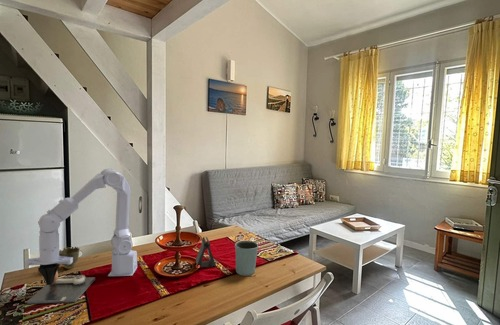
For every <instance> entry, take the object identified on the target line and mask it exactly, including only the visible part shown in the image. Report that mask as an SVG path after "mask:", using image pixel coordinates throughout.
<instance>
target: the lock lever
mask: <svg viewBox="0 0 500 325" xmlns="http://www.w3.org/2000/svg"><path fill="white" fill-rule="evenodd" d="M58 278H59V271H58V270H57V272H56V274H55V277H54V282H53V283H52V284H54V283H73V284H75V285H78V284H82V283H84V282H85V278H86V276H85V275H84V274H79V275H77V276H75V277H72V278H73V279H58Z"/></svg>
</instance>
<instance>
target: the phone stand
mask: <svg viewBox="0 0 500 325" xmlns="http://www.w3.org/2000/svg"><path fill="white" fill-rule="evenodd" d="M206 250H207V254H208V257H209V260H203V258H204V255H205V252H206ZM213 255H214V254H213V253H212V250H211V243H210V241H209V238H208V237H207V236H206V237H205V236H204V237H202V238H201V245H200V248H199V250H198V252H197V255H196V258H195V260H196V263H197V265H200V266H201V268H200V269H204V268H203V267H206V268H214V267H213V266H216V267H217V264H216V261H215V259H214V256H213Z"/></svg>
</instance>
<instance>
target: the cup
mask: <svg viewBox="0 0 500 325" xmlns="http://www.w3.org/2000/svg"><path fill="white" fill-rule="evenodd" d="M79 255H80V247H78V246H72V247H70V246H67V247H64V248H63V250H61V249H59V256H64V257H73V262H72V263H71V264H61V265H62V266H63V268H64V269H65V270H71V269H73V268H74V267H75V264H76V263H77V262H78V259H79Z"/></svg>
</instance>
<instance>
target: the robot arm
mask: <svg viewBox="0 0 500 325" xmlns="http://www.w3.org/2000/svg"><path fill="white" fill-rule="evenodd" d="M106 186H108V187H110V188H112V189H114V190H115V191H116V208H115V210H116V211H115V212H116V213H115V229H114V231H113V235H112V237H111V239H110V244H111V245H112V247H113V249H112V251H111V270H110V272H109V273H108V275H107V277H126V276H127V277H129V276H130V277H131V276H132V277H133V275H134V273H136V271H137V268H138V251H137V250H132V248H133V241H132V239H131V232H130V228H129V227H130V210H131V209H130V208H131V186H130V184H129V183H128V181H127V179H126V178H125V176H124V175H123V174H122V173H121V172H120V171H118V170H113V169H112V168H105V169H103V170H101V171H100V173H98V174H96V175H95V176H93V177H92V178H91V179H90V180H89V181H88V182H87V183H86V184H84V186H83V187H81V188H80V189H79V190H78V191H77V192H75V194H74V195H73V196H71V197H65V198H63V199H62V198H61V199H60V200H58V203H57V204H56V205H55V206H54V207H52V209H48V210H47V211H46V213H45V214H42V215H41V216H40V218H39V219H38V225H39V227H38V228H39V237H38V242H39V243H38V244H39V245H38V246H39V250H38V251H39V257H33V258H28V259H26V260H25V261H24V262H25V265H24V266H25V267H30V266H39V267H38V268H37V271H38V272H39V273H40V274H41V275H42V277H43V279H44V282H45V284H46V285H51V284H52V283H53V282H54V277H55V274H56V272H57V271H58V270H59V268H60V265H62V264H71V263H72V262H73V257H64V256H59V251H60V233H59V228H60V226H61V222H64V221H65V220H66V219H68V218H69V217H70V216H71V215H72V214H74V212H75V211H77V210H78V208H79V204H80V203H82V201H84V199H86V198H87V197H89V196H90V195H91V194H92V193H93V192H95V191H96V190H98V189H105V188H106ZM46 285H45V286H46Z"/></svg>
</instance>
